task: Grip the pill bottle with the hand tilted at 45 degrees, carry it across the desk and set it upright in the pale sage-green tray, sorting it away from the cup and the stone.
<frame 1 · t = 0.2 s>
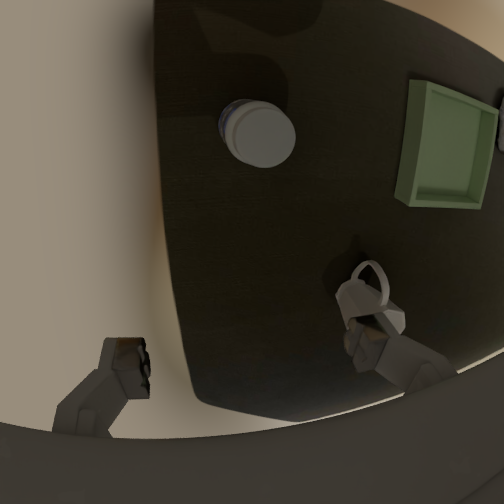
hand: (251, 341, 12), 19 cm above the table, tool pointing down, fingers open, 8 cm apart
stone: (503, 121, 30), on the table
sage tray: (444, 146, 30), on the table
cup: (352, 281, 37), on the table
pill bottle: (244, 124, 26), on the table
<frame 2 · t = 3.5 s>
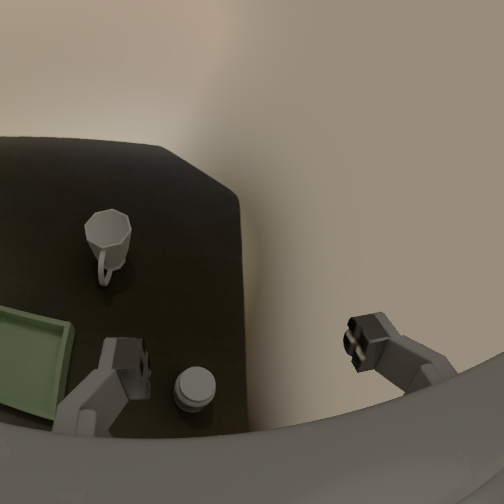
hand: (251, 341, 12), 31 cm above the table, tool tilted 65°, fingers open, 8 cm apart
sage tray: (25, 364, 32), on the table
cup: (111, 268, 45), on the table
pill bottle: (190, 395, 38), on the table
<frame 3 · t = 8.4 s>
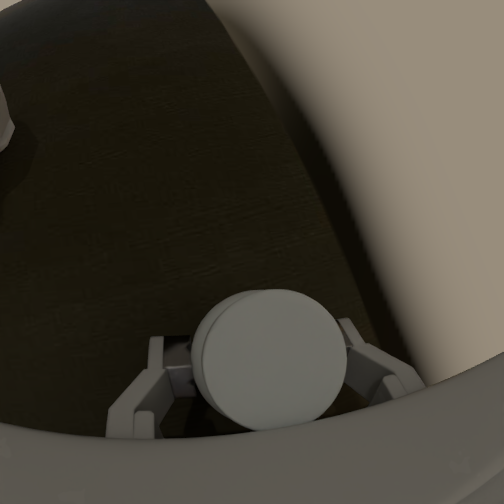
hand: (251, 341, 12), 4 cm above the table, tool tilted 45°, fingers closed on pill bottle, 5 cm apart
pill bottle: (239, 352, 16), on the table, touching gripper
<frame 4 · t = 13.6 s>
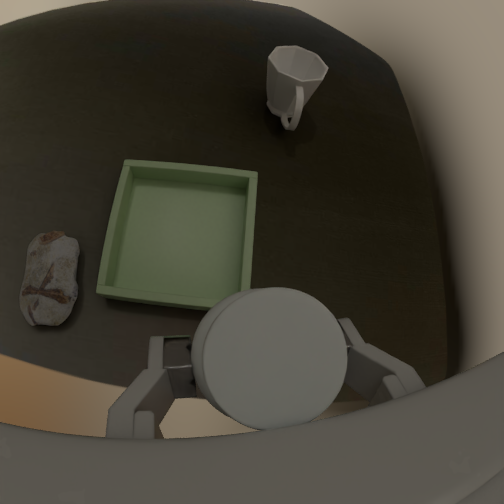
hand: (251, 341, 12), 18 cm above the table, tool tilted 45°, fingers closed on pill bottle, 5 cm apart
stone: (54, 282, 27), on the table
sage tray: (180, 238, 30), on the table
cup: (283, 115, 37), on the table
pill bottle: (239, 351, 16), point 13 cm above the table, touching gripper
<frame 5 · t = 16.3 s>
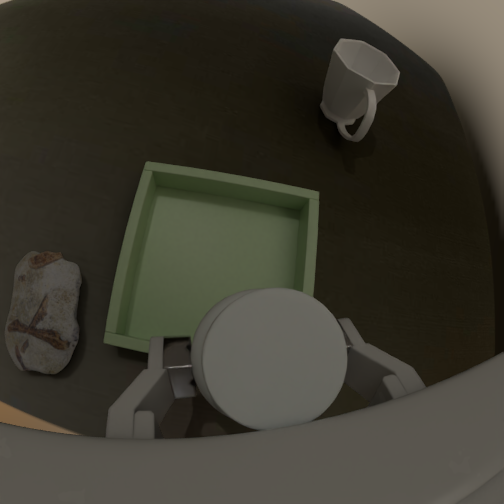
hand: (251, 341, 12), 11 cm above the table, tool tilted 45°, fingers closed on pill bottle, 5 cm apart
stone: (49, 315, 21), on the table
sage tray: (216, 271, 24), on the table
cup: (338, 121, 30), on the table
pill bottle: (239, 351, 16), point 7 cm above the table, touching gripper
when the fingers open (5 cm above the table, at t = 18.8 s): pill bottle stays where it is, resting on sage tray.
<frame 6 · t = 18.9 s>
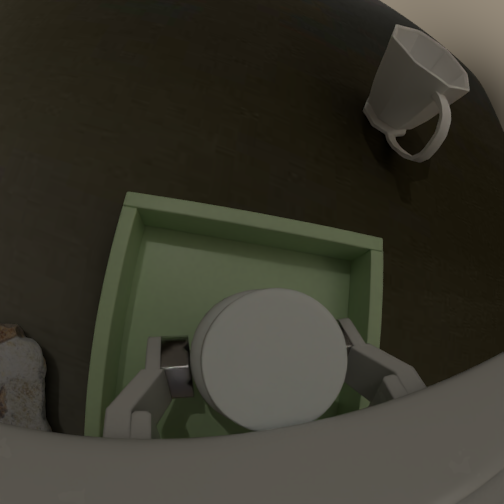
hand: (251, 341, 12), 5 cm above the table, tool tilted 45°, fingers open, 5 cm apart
stone: (14, 399, 13), on the table
sage tray: (235, 353, 16), on the table
cup: (386, 131, 23), on the table
pill bottle: (239, 352, 16), resting on sage tray
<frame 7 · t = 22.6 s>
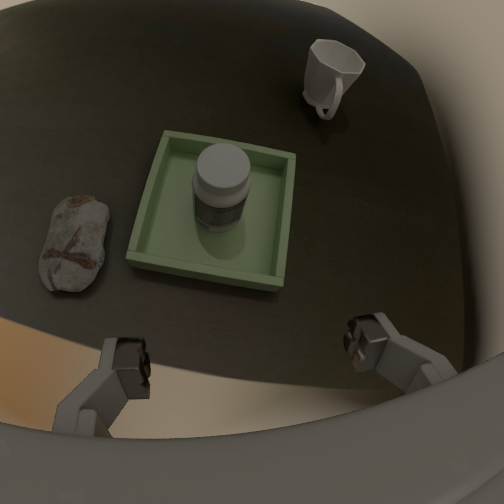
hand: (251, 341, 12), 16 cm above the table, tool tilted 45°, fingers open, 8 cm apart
stone: (78, 248, 27), on the table
sage tray: (215, 212, 30), on the table
cup: (317, 106, 37), on the table
pill bottle: (217, 211, 30), resting on sage tray
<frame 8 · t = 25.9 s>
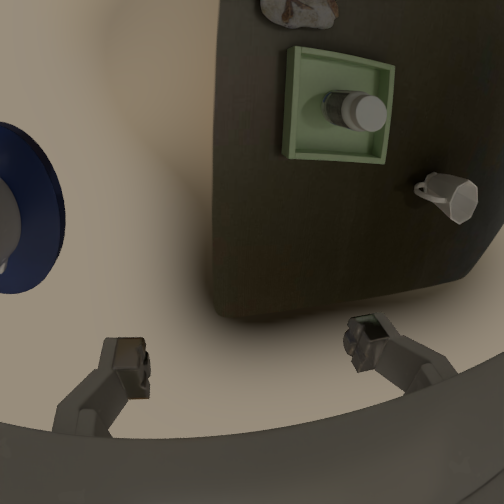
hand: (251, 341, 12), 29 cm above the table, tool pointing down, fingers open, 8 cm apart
stone: (294, 5, 28), on the table
sage tray: (335, 105, 36), on the table
cup: (425, 183, 44), on the table
pill bottle: (336, 107, 35), resting on sage tray
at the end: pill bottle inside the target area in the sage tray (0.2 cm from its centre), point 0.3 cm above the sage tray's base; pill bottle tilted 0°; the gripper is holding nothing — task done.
